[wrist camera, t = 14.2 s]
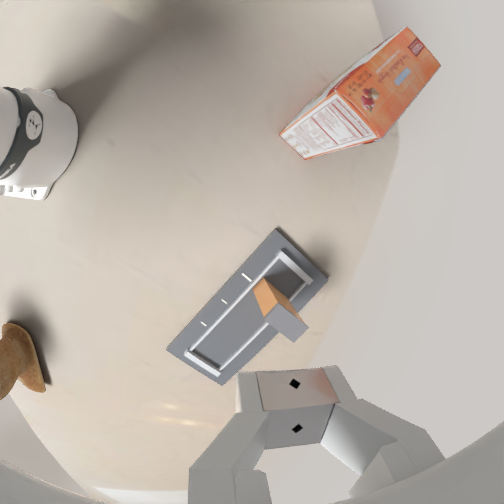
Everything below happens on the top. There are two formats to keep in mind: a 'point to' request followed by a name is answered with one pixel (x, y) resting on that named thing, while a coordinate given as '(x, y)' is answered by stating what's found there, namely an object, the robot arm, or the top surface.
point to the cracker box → (363, 98)
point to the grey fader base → (245, 310)
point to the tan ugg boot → (18, 360)
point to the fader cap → (278, 310)
